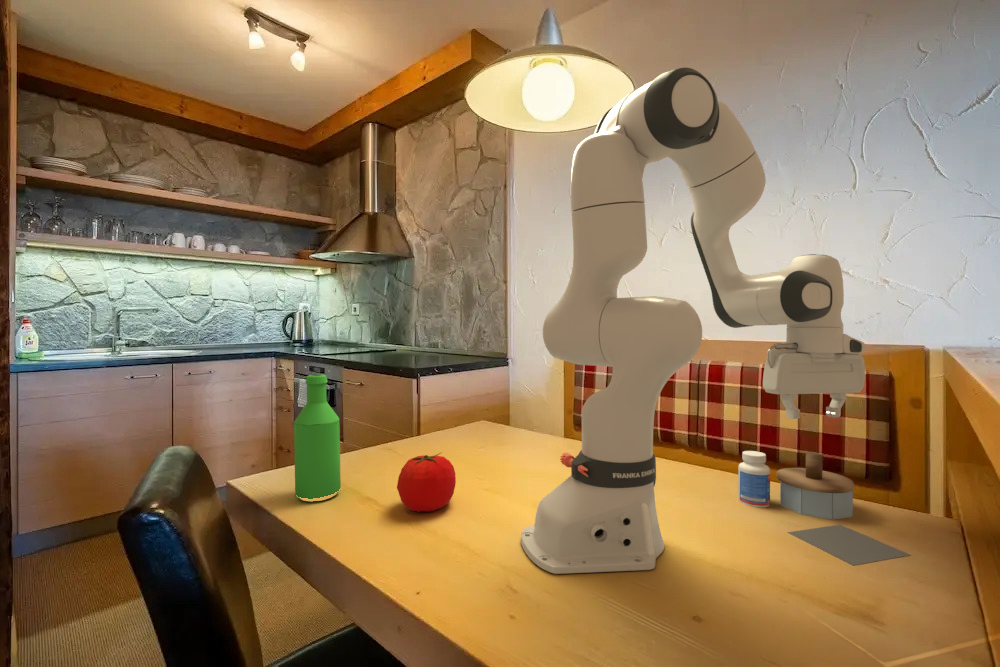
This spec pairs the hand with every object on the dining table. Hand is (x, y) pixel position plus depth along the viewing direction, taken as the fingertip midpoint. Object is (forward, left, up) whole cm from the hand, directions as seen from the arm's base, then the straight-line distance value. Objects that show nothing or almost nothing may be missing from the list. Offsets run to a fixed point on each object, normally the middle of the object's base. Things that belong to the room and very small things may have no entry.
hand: (813, 417), depth 88 cm
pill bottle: (-9, +5, -17) cm, 20 cm away
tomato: (-70, +21, -17) cm, 75 cm away
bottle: (-91, +33, -17) cm, 98 cm away
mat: (-8, -13, -17) cm, 23 cm away
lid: (0, 0, -12) cm, 12 cm away
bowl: (0, 0, -17) cm, 17 cm away
